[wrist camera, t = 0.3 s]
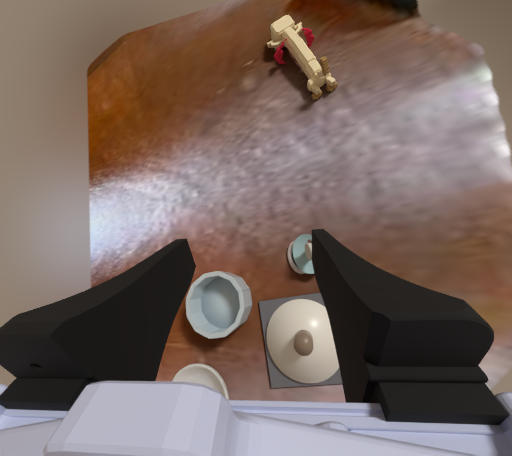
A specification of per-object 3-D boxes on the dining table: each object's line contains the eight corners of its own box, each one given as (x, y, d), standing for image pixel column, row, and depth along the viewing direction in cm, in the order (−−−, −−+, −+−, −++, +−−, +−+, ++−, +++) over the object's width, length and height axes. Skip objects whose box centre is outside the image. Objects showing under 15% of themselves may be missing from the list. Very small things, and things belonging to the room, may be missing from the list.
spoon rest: (176, 360, 41) (150, 376, 34) (232, 354, 39) (215, 369, 32) (183, 522, 34) (152, 580, 28) (251, 526, 32) (235, 590, 25)
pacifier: (293, 278, 40) (325, 271, 38) (289, 278, 34) (326, 269, 33) (284, 241, 42) (313, 234, 41) (278, 235, 36) (313, 226, 35)
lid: (353, 379, 33) (359, 391, 29) (273, 384, 36) (269, 396, 32) (333, 293, 37) (335, 295, 33) (261, 304, 39) (256, 306, 35)
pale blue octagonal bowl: (255, 327, 39) (248, 334, 34) (201, 334, 41) (187, 341, 36) (247, 268, 42) (239, 267, 37) (197, 277, 44) (184, 277, 39)
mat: (357, 381, 33) (358, 382, 33) (271, 386, 36) (271, 388, 35) (335, 290, 37) (335, 290, 37) (259, 301, 40) (258, 301, 39)
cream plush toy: (343, 88, 48) (293, 21, 55) (352, 51, 40) (292, -24, 46) (304, 110, 50) (260, 42, 56) (305, 79, 41) (252, 2, 47)
